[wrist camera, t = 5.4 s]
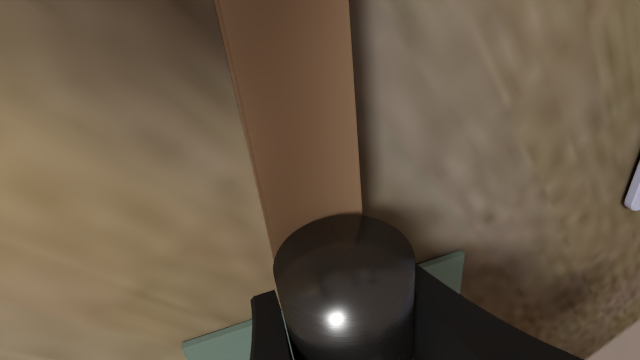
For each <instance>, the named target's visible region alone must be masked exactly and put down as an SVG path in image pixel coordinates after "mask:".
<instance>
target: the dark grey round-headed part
mask: <svg viewBox="0 0 640 360" xmlns="http://www.w3.org/2000/svg"><path fill="white" fill-rule="evenodd" d="M273 273H274V278H275V282H276V286H277V291H278V295H279V299H280V303H281V307H282V312H283V316H284V320H285V324H286V328H287V332H288V337H289V341H290V345H291V349H292V353H293V357H294V360H413V325H414V288H415V256H414V252H413V249H412V247H411V245H410V243H409V241H408V240H407V239H406V237H405V236H404V235H403V234H402V233H401V232H400V231H398V230H397V229H396V228H394V227H393V226H391V225H390V224H388V223H386V222H384V221H381V220H378V219H375V218H372V217H367V216H362V215H335V216H329V217H325V218H321V219H318V220H315V221H312V222H310V223H308V224H306V225H304V226H302V227H300V228H299V229H297V230H296V231H294V232H293V233H292V234H291V235H290V236H288V237H287V239H286V240H285V241H284V242H283V243H282V245H281V246H280V247H279V249H278V251H277V253H276V256H275V259H274V265H273Z"/></svg>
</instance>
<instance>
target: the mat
mask: <svg viewBox="0 0 640 360" xmlns="http://www.w3.org/2000/svg"><path fill="white" fill-rule="evenodd" d="M464 257H465V254H464V253H463V252H462V251H461V250H460V251H457V252H454V253H451V254H448V255H445V256H442V257H439V258H436V259H433V260H430V261H427V262H424V263H421V264H418V265H419V266H420V267H422V268H423V269H424V270H426V271H427V272H429V273H430V274H431V275H433V276H434V277H435V278H437V279H438V280H440V281H441V282H442V283H444V284H445V285H447V286H448V287H450V288H451V289H453V290H454V291H456V292H457V293H459V294H460V291H461V283H462V274H463V266H464ZM281 312H282V310H281ZM282 316H283V312H282ZM283 320H284V316H283ZM284 324H285V320H284ZM285 328H286V324H285ZM286 332H287V328H286ZM287 337H288V332H287ZM251 341H252V320H249V321H246V322H243V323H240V324H237V325H234V326H231V327H228V328H225V329H222V330H219V331H216V332H213V333H210V334H207V335H204V336H201V337H198V338H195V339H192V340H189V341H186V342H183V343H182V350H183V352H184V354H185V356H186V358H187V360H250V352H251ZM288 341H289V337H288ZM289 345H290V341H289ZM290 349H291V345H290ZM291 353H292V349H291ZM292 357H293V353H292ZM293 360H294V357H293Z"/></svg>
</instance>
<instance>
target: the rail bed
mask: <svg viewBox="0 0 640 360" xmlns="http://www.w3.org/2000/svg"><path fill="white" fill-rule="evenodd" d="M214 4H215V8H216V13H217V17H218V21H219V26H220V30H221V34H222V38H223V43H224V47H225V51H226V56H227V60H228V64H229V69H230V73H231V77H232V81H233V86H234V90H235V94H236V99H237V103H238V107H239V112H240V116H241V120H242V124H243V129H244V133H245V137H246V142H247V146H248V150H249V155H250V159H251V163H252V167H253V172H254V176H255V180H256V185H257V189H258V193H259V198H260V202H261V206H262V210H263V215H264V219H265V223H266V228H267V232H268V236H269V241H270V245H271V249H272V253H273V258H274V259H275V256H276V253H277V251H278V249H279V247H280V246H281V245H282V243H283V242H284V241H285V240H286V239H287V237H288V236H290V235H291V234H292V233H293V232H294V231H296V230H297V229H299V228H300V227H302V226H304V225H306V224H308V223H310V222H312V221H315V220H318V219H321V218H325V217H329V216H335V215H362V200H361V184H360V169H359V153H358V138H357V122H356V107H355V91H354V76H353V60H352V45H351V29H350V14H349V0H214ZM362 216H363V215H362Z"/></svg>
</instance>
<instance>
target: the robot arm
mask: <svg viewBox="0 0 640 360" xmlns="http://www.w3.org/2000/svg"><path fill="white" fill-rule="evenodd" d="M624 204H625V206H626V207H628V208H629V209H631V210H633V211H636V210H640V160H639V163H638V166H637V169H636V171H635V174H634V177H633V179H632V182H631V185H630V187H629V190H628V193H627V195H626V198H625V202H624ZM251 307H252V341H251V352H250V360H293V357H292V353H291V349H290V345H289V341H288V337H287V332H286V328H285V324H284V320H283V316H282V312H281V308H280V305H279V302H278V299H277V296H276V293H275V290H272V291H269V292H266V293H263V294H260V295H257V296H254V297H253V298H252V299H251ZM413 360H583V359H581V358H579V357H576V356H574V355H572V354H570V353H567V352H565V351H563V350H561V349H558V348H556V347H554V346H551V345H549V344H547V343H545V342H543V341H541V340H539V339H537V338H535V337H532V336H530V335H528V334H526V333H525V332H523V331H521V330H519V329H517V328H515V327H513V326H511V325H509V324H508V323H506V322H504V321H502V320H500V319H499V318H497V317H495V316H494V315H492V314H490V313H489V312H487V311H485V310H484V309H482V308H480V307H479V306H477V305H475V304H474V303H472V302H471V301H469V300H468V299H466V298H465V297H463V296H462V295H460V294H459V293H457V292H456V291H454V290H453V289H451V288H450V287H448V286H447V285H445V284H444V283H442V282H441V281H440V280H438V279H437V278H435V277H434V276H433V275H431V274H430V273H429V272H427V271H426V270H424V269H423V268H422V267H420V266H419V265H418V264H416V263H415V288H414V325H413Z"/></svg>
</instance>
